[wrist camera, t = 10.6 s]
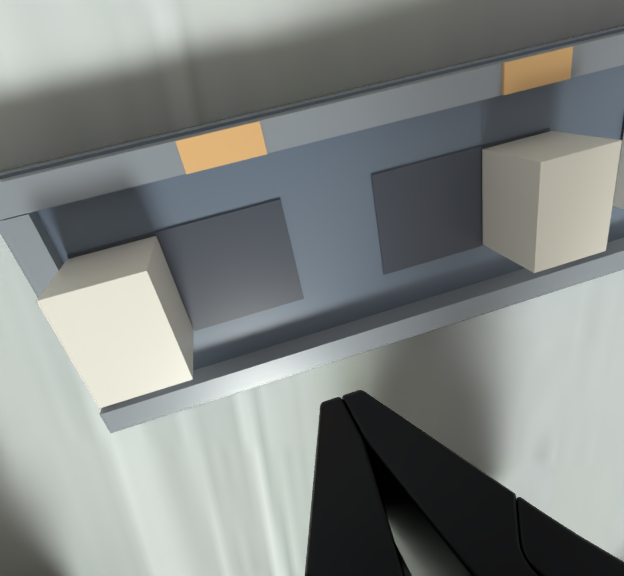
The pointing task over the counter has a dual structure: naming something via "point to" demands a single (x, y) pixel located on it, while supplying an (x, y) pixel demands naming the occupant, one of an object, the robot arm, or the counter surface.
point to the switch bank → (323, 213)
